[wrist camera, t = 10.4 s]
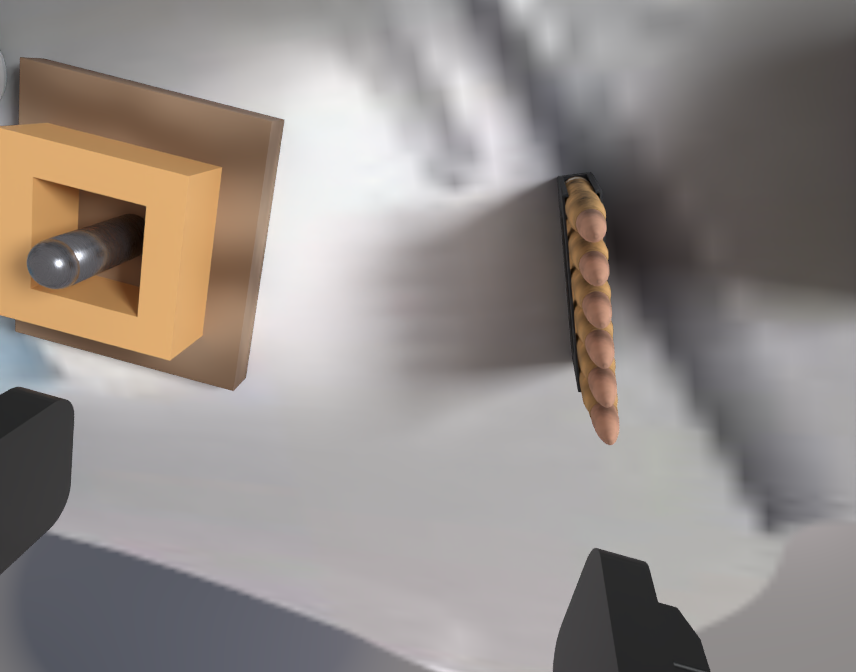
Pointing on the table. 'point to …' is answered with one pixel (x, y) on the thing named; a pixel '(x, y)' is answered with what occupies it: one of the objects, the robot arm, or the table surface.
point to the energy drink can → (2, 75)
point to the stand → (125, 221)
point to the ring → (58, 213)
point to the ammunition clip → (589, 299)
